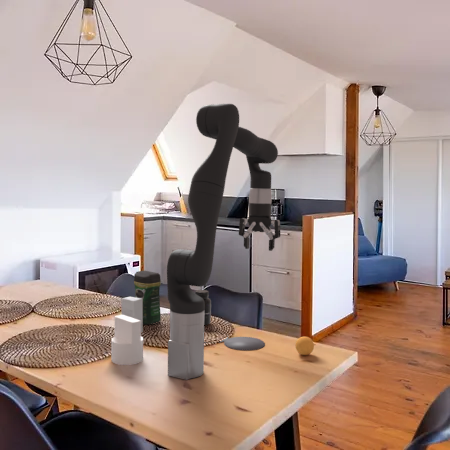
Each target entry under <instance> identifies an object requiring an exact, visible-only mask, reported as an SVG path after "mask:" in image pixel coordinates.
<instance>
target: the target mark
mask: <svg viewBox="0 0 450 450" xmlns="http://www.w3.org/2000/svg"><path fill="white" fill-rule="evenodd" d="M223 344H224V346H225V347H227V348H228V349H233V350H237V351H257V350H261V349H263V348H264V347H265V345H266V344H265V342H264V340H261V339H260V338H256V337H252V336H235V337H234V336H233V337H230V338H229V337H228V339H227V340H225V341H223Z"/></svg>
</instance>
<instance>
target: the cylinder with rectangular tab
mask: <svg viewBox="0 0 450 450" xmlns="http://www.w3.org/2000/svg"><path fill="white" fill-rule="evenodd" d="M141 335H142V334H141V320H138V319H135V318H132V317H129V316H126V315H122V314H119V315H115V316H114V336H113V337H112V338H111V346H110V347H111V348H110V349H111V353H110V355H111V362H112V363H113V364H116V365H119V366H131V365H136V364H139V363H141V362H143V360H144V337H143V336H141Z"/></svg>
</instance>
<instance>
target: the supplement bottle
mask: <svg viewBox="0 0 450 450" xmlns="http://www.w3.org/2000/svg"><path fill="white" fill-rule="evenodd" d="M194 293H195V294H197V295H198V296H200V297H201V298H203V300H204V302H205V311H204V325H207V326H209V325H210V324H211V317H212V300H211V298H209V296H210V294H209V293H210V292H209V290H206V289H198V290H197V289H196V290H195V292H194ZM208 324H209V325H208Z"/></svg>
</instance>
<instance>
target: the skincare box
mask: <svg viewBox="0 0 450 450" xmlns="http://www.w3.org/2000/svg"><path fill="white" fill-rule="evenodd" d="M121 315H126V316H129V317H132V318H135V319H138V320H141V332H144V331H143V328H144V327H143V325H144V324H143V299H141V298H135V296H127V297H122V298H121Z"/></svg>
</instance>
